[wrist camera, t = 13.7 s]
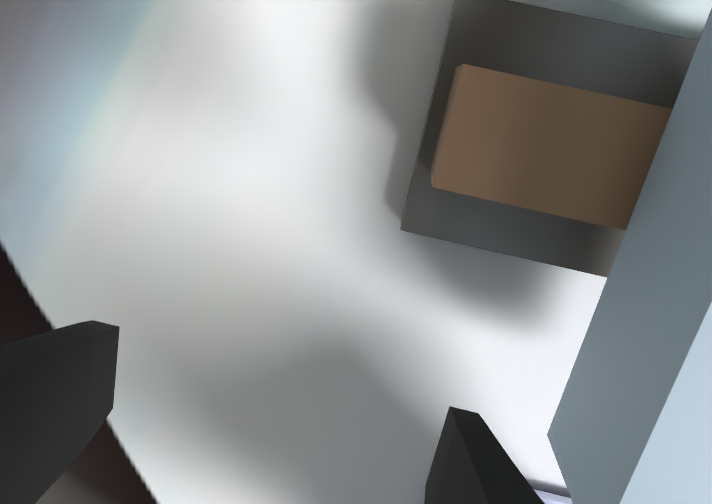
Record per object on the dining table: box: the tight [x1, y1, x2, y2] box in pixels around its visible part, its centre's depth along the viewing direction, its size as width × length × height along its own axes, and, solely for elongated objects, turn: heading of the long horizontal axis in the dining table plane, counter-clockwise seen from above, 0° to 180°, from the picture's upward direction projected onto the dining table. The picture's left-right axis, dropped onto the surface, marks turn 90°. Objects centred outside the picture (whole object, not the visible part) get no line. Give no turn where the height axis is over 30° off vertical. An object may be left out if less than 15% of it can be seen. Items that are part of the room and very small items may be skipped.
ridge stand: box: [401, 0, 699, 278], centre depth 17 cm, size 16×8×4 cm, turn 78°
